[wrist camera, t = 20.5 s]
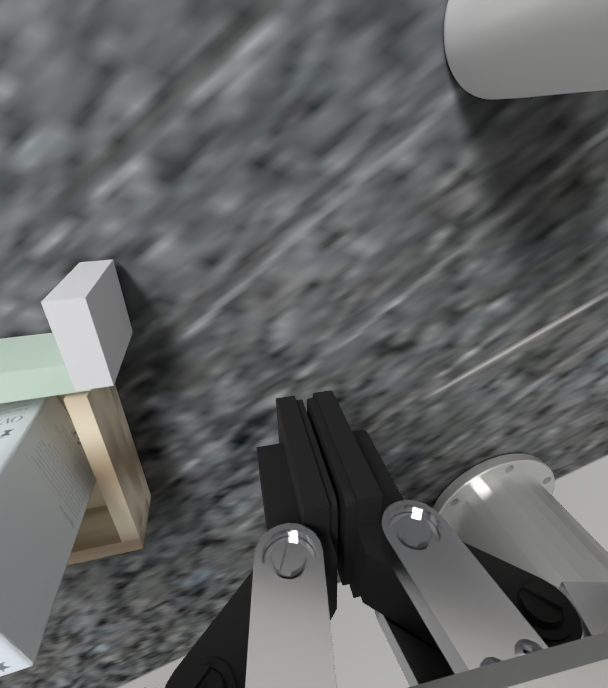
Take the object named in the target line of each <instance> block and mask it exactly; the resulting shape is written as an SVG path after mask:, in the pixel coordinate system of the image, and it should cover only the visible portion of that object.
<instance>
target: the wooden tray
mask: <svg viewBox="0 0 608 688" xmlns="http://www.w3.org/2000/svg"><path fill="white" fill-rule="evenodd" d="M56 396H57V397H58V399H59V400H60V402H61V403H62V405H63V407H64V408H65V410H66V411H67V413H68V414H69V416H70V417H71V420H72V422H73V424H74V427H75V429H76V432H77V434H78V437H79V439H80V442H81V444H82V446H83V449H84V451H85V454H86V456H87V459H88V461H89V463H90V466H91V468H92V471H93V473H94V476H95V478H96V483H95V486H94V488H93V491H92V493H91V496H90V500H89V502H88V505H87V508H86V511H85V514H84V516H83V519H82V522H81V525H80V528H79V531H78V534H77V537H76V540H75V542H74V545H73V548H72V551H71V554H70V557H69V560H68V563H67V565H71V564H76V563H80V562H85V561H89V560H94V559H98V558H103V557H107V556H112V555H116V554H121V553H125V552H130V551H134V550H139V549H143V548H144V541H145V534H146V527H147V520H148V513H149V506H150V499H151V495H150V491H149V488H148V485H147V482H146V479H145V476H144V473H143V470H142V467H141V463H140V460H139V457H138V454H137V451H136V448H135V445H134V442H133V439H132V435H131V432H130V429H129V426H128V423H127V420H126V417H125V414H124V411H123V407H122V404H121V401H120V398H119V395H118V392H117V389H116V386H115V383H114V386H108V387H101V388H94V389H92V390H90V391H83V392H76V393H69V394H62V395H56Z"/></svg>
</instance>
